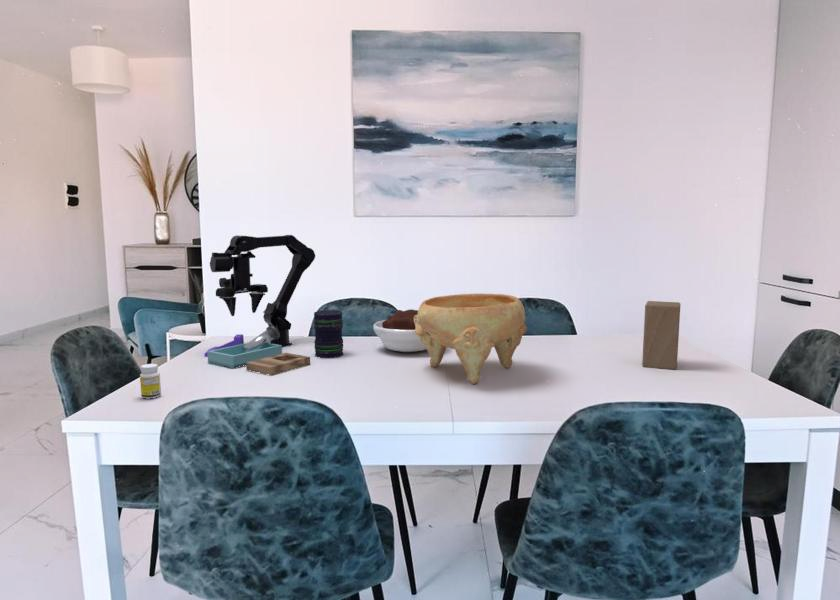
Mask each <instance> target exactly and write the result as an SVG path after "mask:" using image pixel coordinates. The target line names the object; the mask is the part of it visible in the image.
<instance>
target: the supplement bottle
mask: <svg viewBox="0 0 840 600" xmlns="http://www.w3.org/2000/svg"><path fill="white" fill-rule="evenodd" d="M158 370H159V366H158V364H157V363H146V364H143V365H141V366H140V372H141V373H140V374H139V381H140V394H141V395H140V396H141V398H142V399H143V398H146V399H145V400H151V399H150V398H153V399H157V398H159V396H160V397H161V396H162V388H161V387H162V386H161V373H160V372H159V371H158ZM156 397H157V398H156Z"/></svg>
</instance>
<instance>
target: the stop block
mask: <svg viewBox="0 0 840 600" xmlns="http://www.w3.org/2000/svg"><path fill="white" fill-rule="evenodd" d="M306 365H307V366H310V365H311V356H308V355H307V356H306V355H300V354H296V353H295V354H294V353H289V352H284V353H283V352H282V354H279V355H275V356H271V357H267V358H263V359H259V360H255V361H250V362H246V366H245V367H246V368H245V369H246V371H247V370H251V371H250V372H252V371H255V372H254V373H256V372H260V373H259V374H261V373H264V374H263V375H266V374H269V375H268V376H270V375H271V376H273V375H272V374H274V375H277V374H276V373H278V374H281V373H280V372H282V373H284V372H283V371H285V372H288V371H287V370H289V371H291V369H292V370H295V368H296V369H299V367H300V368H303V367H307V366H306Z"/></svg>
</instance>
